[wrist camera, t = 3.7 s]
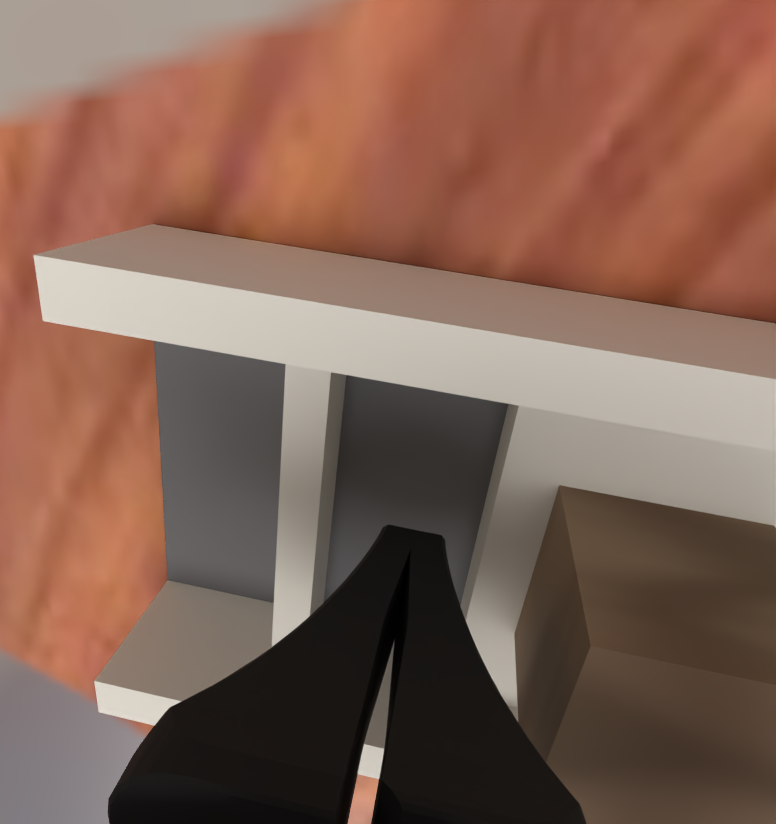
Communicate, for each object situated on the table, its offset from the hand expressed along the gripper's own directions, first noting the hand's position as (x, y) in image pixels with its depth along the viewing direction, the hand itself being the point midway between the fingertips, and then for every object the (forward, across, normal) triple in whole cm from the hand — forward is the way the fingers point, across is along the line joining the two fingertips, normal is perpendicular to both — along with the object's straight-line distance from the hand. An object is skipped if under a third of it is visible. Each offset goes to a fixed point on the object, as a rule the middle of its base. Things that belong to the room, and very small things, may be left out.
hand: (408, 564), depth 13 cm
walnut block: (+1, -5, 0) cm, 5 cm away
